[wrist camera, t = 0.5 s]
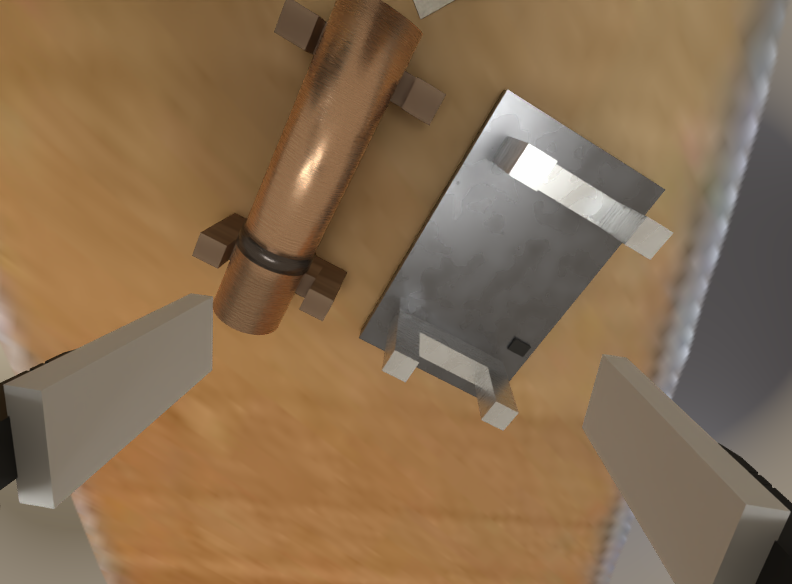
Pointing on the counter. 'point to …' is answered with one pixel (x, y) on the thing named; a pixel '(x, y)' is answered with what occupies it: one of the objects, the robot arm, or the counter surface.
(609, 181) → the plate
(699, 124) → the counter surface
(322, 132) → the tube
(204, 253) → the walnut rack
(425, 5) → the condiment
